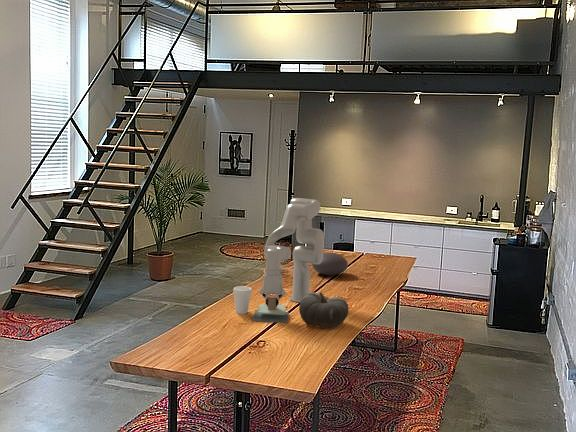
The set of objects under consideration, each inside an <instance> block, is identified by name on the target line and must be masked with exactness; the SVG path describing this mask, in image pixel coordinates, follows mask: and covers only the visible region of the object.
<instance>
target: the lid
mask: <svg viewBox="0 0 576 432" xmlns="http://www.w3.org/2000/svg"><path fill="white" fill-rule="evenodd" d="M276 298H277V297H276V296H270V295H268V307H267V305H266V303H264V304H263V303H259V305H258V309H257V310H258V314H276V315H285V312H286V309H287V308H286V307H287V305H286V304H285V305H284V304H279V305H277V307H276Z"/></svg>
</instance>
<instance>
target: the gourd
mask: <svg viewBox="0 0 576 432" xmlns="http://www.w3.org/2000/svg"><path fill="white" fill-rule="evenodd" d="M298 307H299V308H298V311H299V314H300V318H301V319H302V321H303V322H304V323H305V324H306V325H308V326H310V327H319V328H320V329H335V328H336V327H338V326H341V325H342V324H343V323H344V322H345V320H346V319H347V317H348V315H349V305H348V302H347V301H346V300H345V299H344V298H342V297H340V296H339V297H335V296H334V297H330V298H329V297H328V296H326V295H324V294H323V292H321V291H320V292H319V293H318V292H313V291H311V292H310V293H308V294H307V295H306V296H304V297H303V298H302V300H301V302H299V306H298Z"/></svg>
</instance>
